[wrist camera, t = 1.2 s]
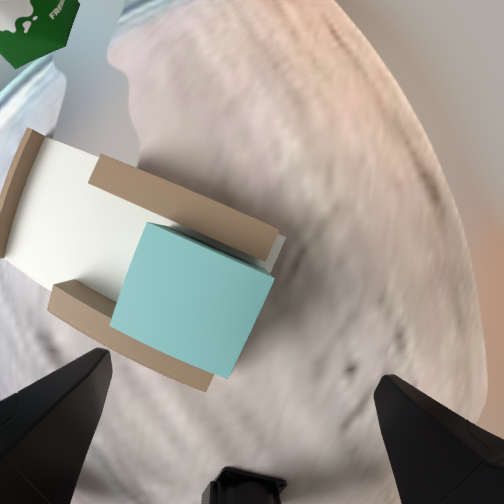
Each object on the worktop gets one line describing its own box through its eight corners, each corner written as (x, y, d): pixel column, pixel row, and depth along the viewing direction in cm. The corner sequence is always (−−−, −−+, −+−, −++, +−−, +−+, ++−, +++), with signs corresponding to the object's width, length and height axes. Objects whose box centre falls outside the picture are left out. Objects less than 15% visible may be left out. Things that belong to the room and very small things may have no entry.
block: (264, 268, 20) (275, 278, 15) (228, 347, 20) (227, 379, 15) (168, 226, 19) (147, 222, 14) (137, 306, 19) (109, 325, 14)
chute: (284, 237, 20) (295, 236, 17) (222, 373, 20) (220, 397, 17) (43, 136, 19) (20, 124, 15) (2, 253, 19) (-23, 256, 15)
